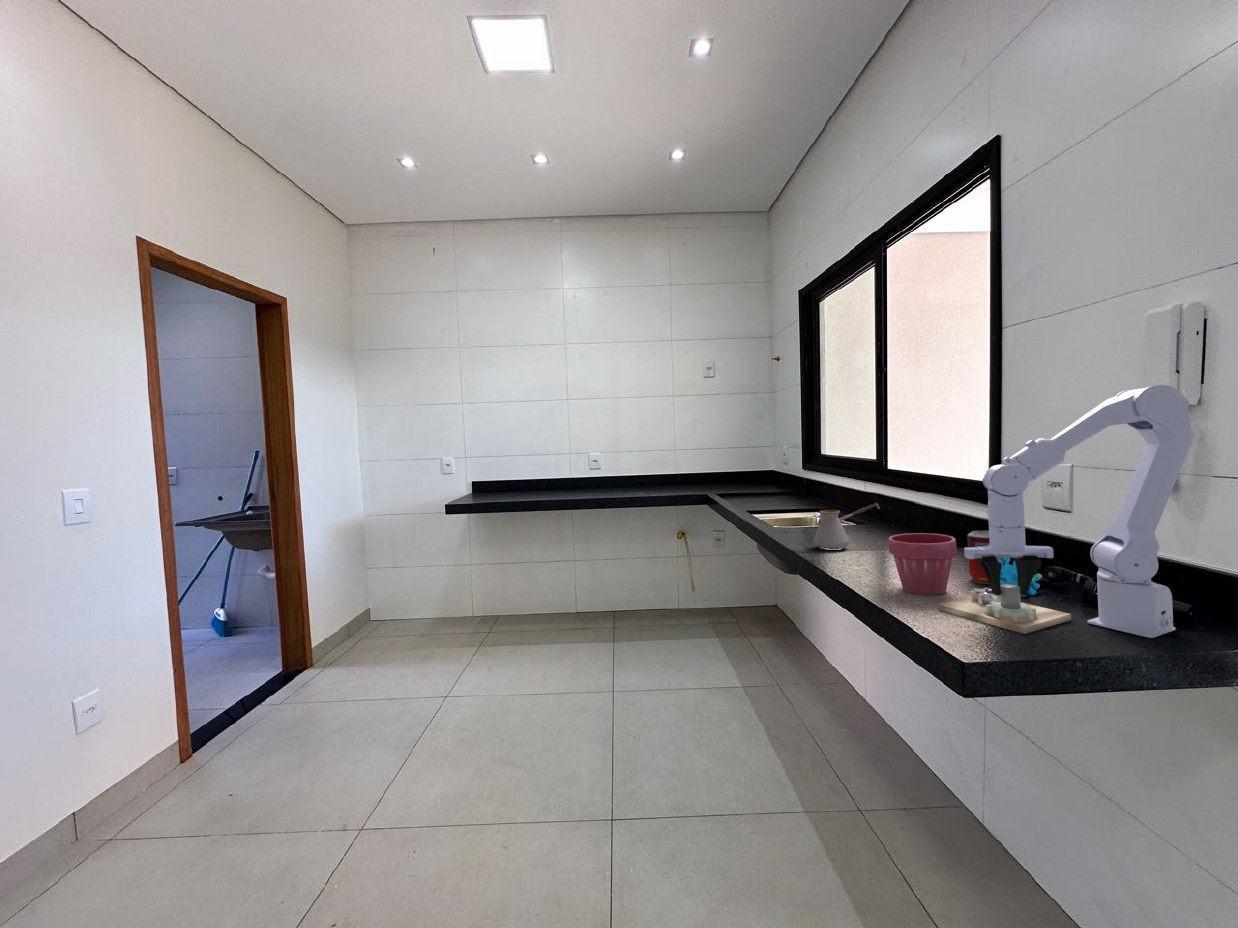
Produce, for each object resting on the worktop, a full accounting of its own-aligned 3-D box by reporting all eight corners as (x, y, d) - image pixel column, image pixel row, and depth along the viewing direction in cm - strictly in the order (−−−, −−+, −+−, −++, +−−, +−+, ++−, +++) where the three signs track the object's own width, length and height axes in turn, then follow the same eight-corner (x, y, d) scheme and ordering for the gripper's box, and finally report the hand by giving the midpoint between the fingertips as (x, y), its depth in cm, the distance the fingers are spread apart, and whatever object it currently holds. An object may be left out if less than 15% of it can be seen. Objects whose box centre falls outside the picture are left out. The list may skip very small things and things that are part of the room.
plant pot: (877, 586, 133) (875, 536, 133) (925, 579, 136) (923, 530, 135) (921, 601, 119) (918, 545, 119) (973, 594, 122) (971, 539, 121)
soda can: (1006, 585, 126) (1004, 534, 126) (971, 583, 130) (968, 534, 129) (1001, 578, 133) (998, 529, 132) (967, 576, 136) (965, 529, 136)
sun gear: (1018, 602, 111) (1018, 590, 111) (997, 608, 108) (996, 595, 108) (985, 594, 117) (985, 583, 117) (964, 600, 114) (963, 588, 114)
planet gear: (1046, 616, 101) (1045, 588, 101) (1017, 623, 99) (1015, 594, 99) (1005, 605, 109) (1004, 579, 109) (977, 611, 106) (976, 584, 106)
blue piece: (1003, 591, 117) (986, 553, 124) (989, 604, 121) (973, 567, 128) (1055, 596, 116) (1034, 557, 123) (1038, 608, 121) (1020, 570, 128)
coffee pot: (816, 552, 175) (813, 507, 175) (811, 545, 186) (809, 503, 186) (886, 551, 170) (883, 505, 170) (876, 544, 182) (874, 501, 181)
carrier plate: (1071, 620, 102) (1070, 613, 102) (1024, 633, 97) (1024, 626, 97) (982, 598, 118) (982, 592, 118) (938, 609, 113) (938, 603, 113)
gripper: (973, 530, 101) (976, 599, 102) (1061, 527, 98) (1064, 600, 98) (959, 524, 108) (962, 589, 109) (1040, 522, 105) (1043, 589, 105)
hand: (1009, 594), depth 104 cm, fingers open, 4 cm apart
